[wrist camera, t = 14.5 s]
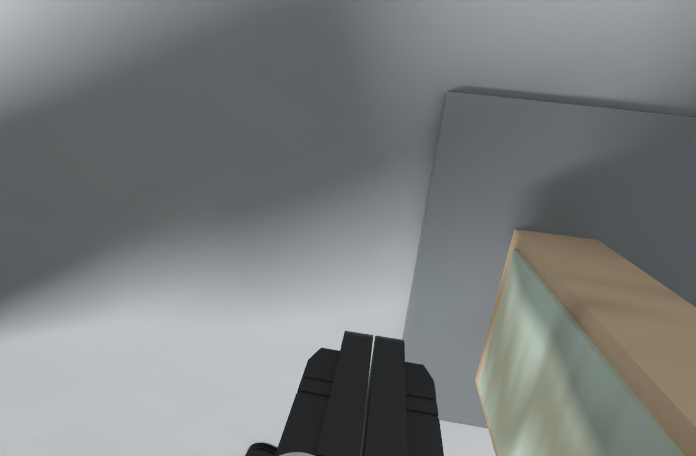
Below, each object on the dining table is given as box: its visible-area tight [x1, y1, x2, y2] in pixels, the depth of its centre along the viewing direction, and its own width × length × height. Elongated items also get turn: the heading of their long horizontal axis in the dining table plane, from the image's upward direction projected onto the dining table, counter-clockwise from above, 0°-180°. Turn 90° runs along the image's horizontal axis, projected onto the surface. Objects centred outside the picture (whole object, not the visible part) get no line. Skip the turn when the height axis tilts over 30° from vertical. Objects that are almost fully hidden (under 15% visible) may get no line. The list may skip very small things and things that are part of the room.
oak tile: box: [475, 229, 696, 456], centre depth 10 cm, size 7×3×10 cm, turn 175°
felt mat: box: [402, 91, 696, 428], centre depth 15 cm, size 20×14×1 cm
